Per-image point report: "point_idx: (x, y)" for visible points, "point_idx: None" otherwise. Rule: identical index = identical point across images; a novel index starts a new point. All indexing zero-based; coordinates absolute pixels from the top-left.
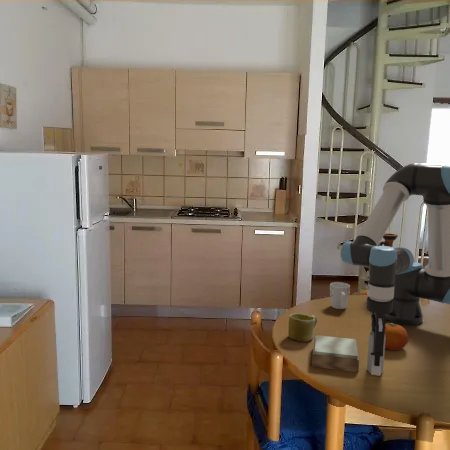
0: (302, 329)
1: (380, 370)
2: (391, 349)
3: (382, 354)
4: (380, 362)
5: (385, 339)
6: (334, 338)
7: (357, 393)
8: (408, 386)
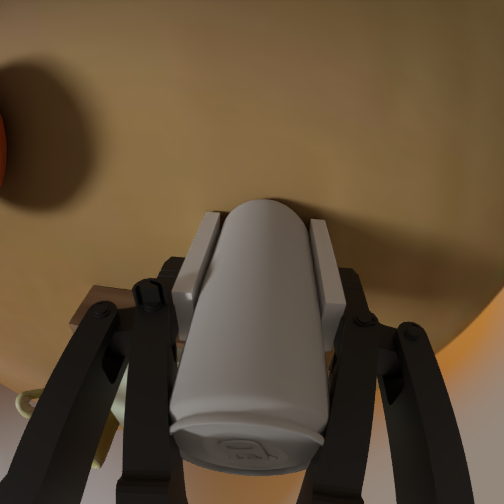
0: (106, 438)
1: (329, 238)
2: (5, 135)
3: (427, 341)
4: (335, 271)
5: (276, 383)
6: (115, 401)
7: (452, 317)
8: (416, 94)
